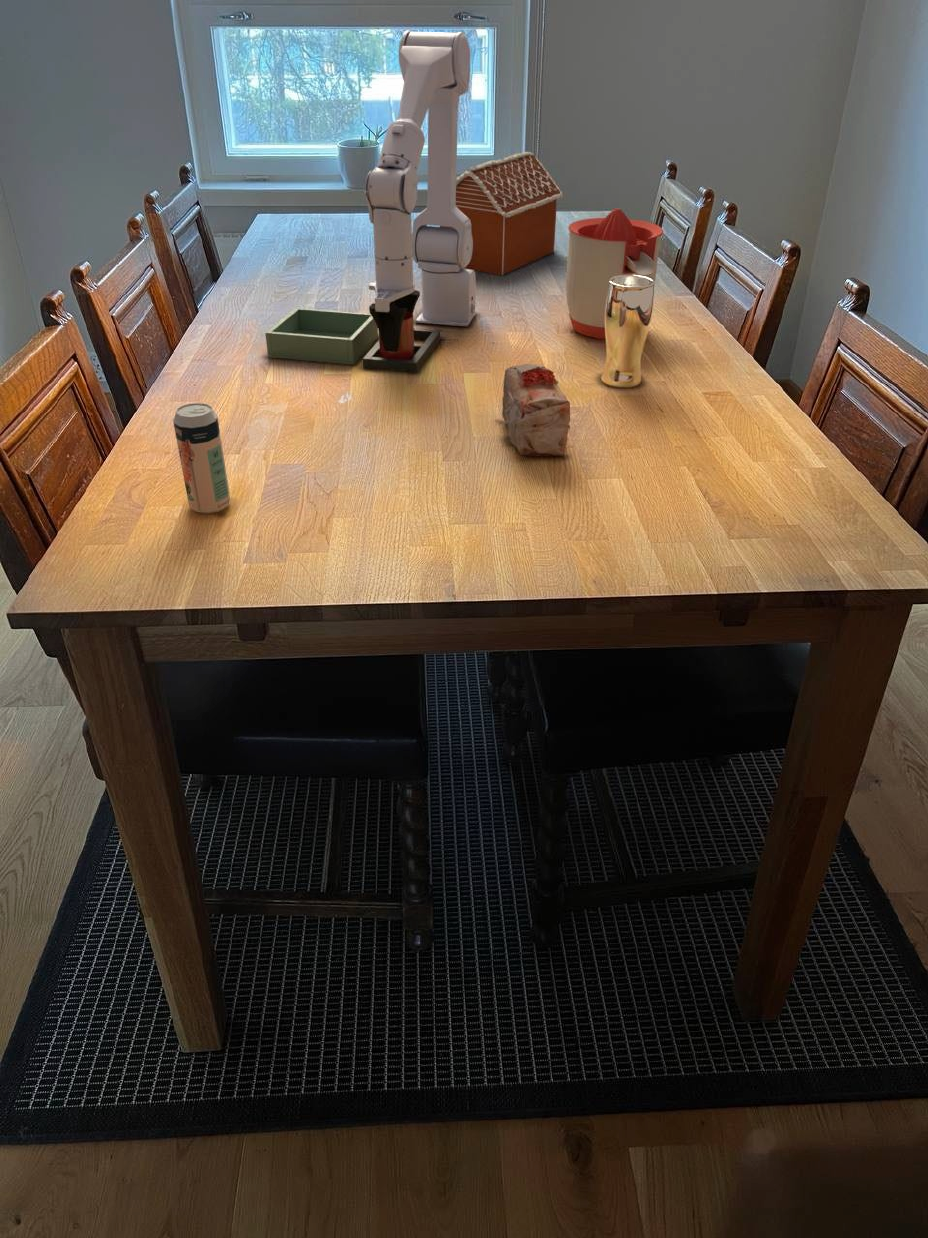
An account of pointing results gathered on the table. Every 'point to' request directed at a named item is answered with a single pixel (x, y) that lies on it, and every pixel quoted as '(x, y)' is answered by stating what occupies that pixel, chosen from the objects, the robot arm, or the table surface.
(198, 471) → the beer can
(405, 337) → the cup
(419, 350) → the frame
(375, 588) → the table surface
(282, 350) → the basin
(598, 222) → the citrus juicer
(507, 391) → the food item
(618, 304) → the beer glass
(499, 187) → the gingerbread house
